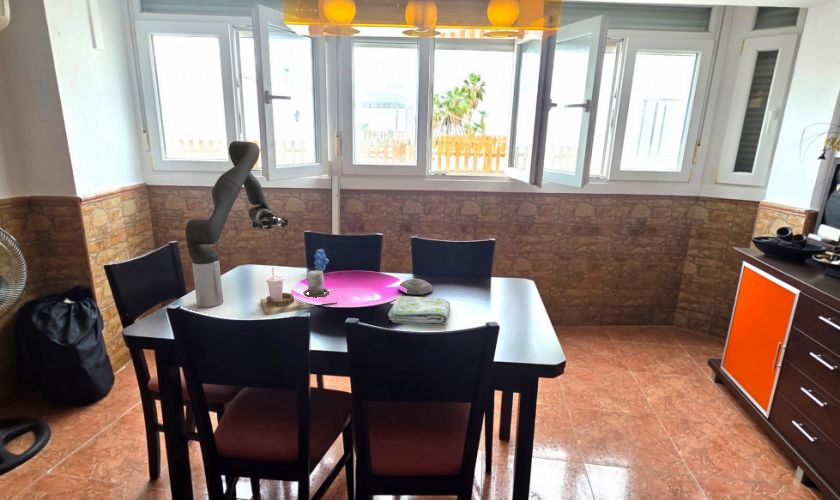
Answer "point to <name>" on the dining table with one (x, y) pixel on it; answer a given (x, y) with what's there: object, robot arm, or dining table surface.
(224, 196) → the robot arm
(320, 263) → the grapes
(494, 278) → the dining table surface
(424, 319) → the towel
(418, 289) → the grey rounded dome
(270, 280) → the smoothie
